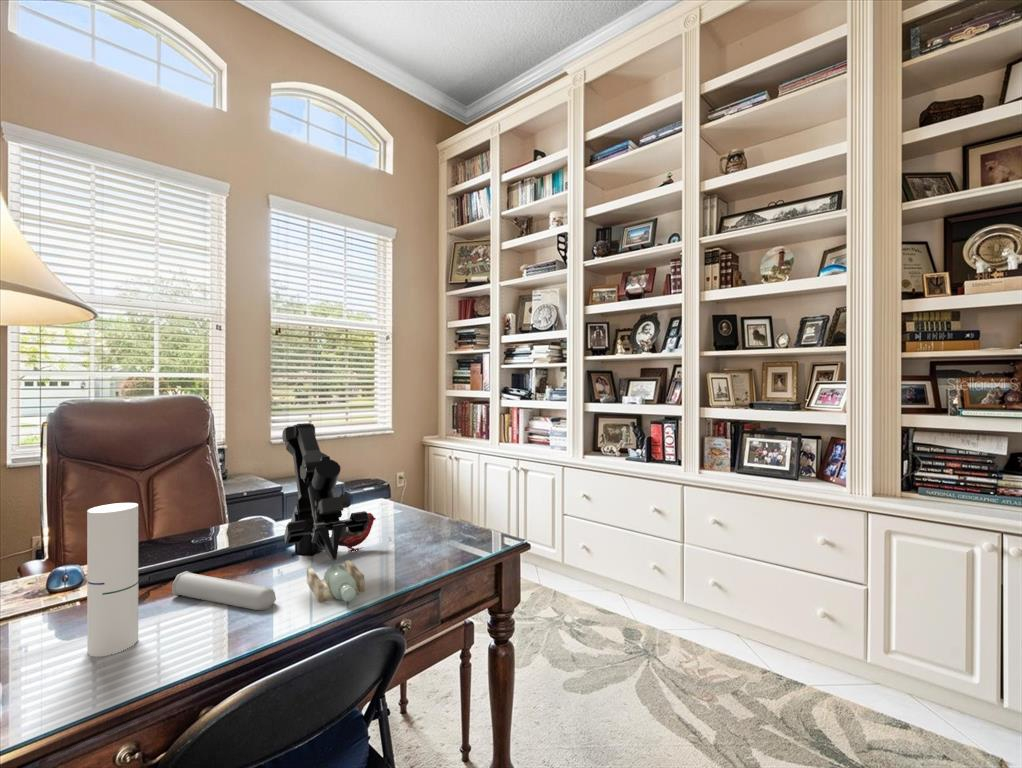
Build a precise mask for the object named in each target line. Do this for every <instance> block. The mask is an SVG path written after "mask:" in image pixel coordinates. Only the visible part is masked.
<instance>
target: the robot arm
mask: <svg viewBox="0 0 1022 768" xmlns="http://www.w3.org/2000/svg"><path fill="white" fill-rule="evenodd" d="M282 442H283V443H285V450H286V451H287V452H288V453H289V454H291V456H292V458H293V465H294V466H293V467H294V474H295V475H294V476H295V481H296V489H297V496H298V500H297V502H296V504H295V507H294V510H293V512H292V516H291V519H290V521H289V522H288V523H287V524H286V527H285V531H284V542H285V545H293V544H294V552H291V554H290V555H291V556H293V557H295V556H305V557H313V556H315V555H317V554H318V553H320V552H322V551H324V552H325V553H326V555H328V557H329V558H330V560H331V561H336V560H337V558H338V557H337V556H338V553H339V552H338V551H339V539H341V538H343V536H344V534H345V531H346V528H348V530H349V532H351V533H352V534H354V533H359V532H363V531H365V530H366V528H367V525H368V523H369V521H370V518H369V514H368V513H369V512H367V511H366V510H365V511H364V510H363V511H356V512H351V513H350V516H349V518H347V519H341V520H340V518H342V515H343V513H342V512H343V511H344V510H345V509H347V508H350V506H351V504H352V503H351V498H350V494H349V493H348V492H347V493H341V494H340V495H339V496H335V493H334V489H335V488H336V485H337V482H338V479H339V475H340V472H341V469H342V468H341V465H340V464H339V463H338V462H337V461H335V460H334V459H331V457H330V456H329V455H327V454H325V453H323V452H321V449H320V446H319V444H318V441H317V437H316V426H315V425H314V423H306V422H304V423H303V422H302V423H296V424H294V425H291V426H286V427H285V428H284V429H283V430H282ZM330 531H331V534H330ZM330 535H331V536H330ZM330 537H331V538H330Z"/></svg>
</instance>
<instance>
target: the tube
mask: <svg viewBox="0 0 1022 768" xmlns="http://www.w3.org/2000/svg"><path fill="white" fill-rule="evenodd" d="M171 594H172V595H174V596H177V597H180V596H179V595H182V596H181V597H185V596H186V597H187V598H190V597H191V599H195V598H196V599H195V600H200V599H201V601H205V600H206V602H210V601H211V603H213V602H215V603H219V604H224V605H228V606H234V607H239V608H244V609H249V610H253V611H254V610H255V611H263V610H264V611H265V610H269V609H270V608H271V607H272V606H273V605H274V604H275V602H276V600H277V597H276V593H275V590H274V589H272V588H271V587H268V586H265V585H258V584H253V583H247V582H243V581H237V580H232V579H231V580H230V579H225V578H220V577H214V576H207V575H203V574H197V573H193V572H191V571H188V570H186V571H183V572H181V573H179V574H177V575H176V576H175V579H174V580H173V582H172V584H171Z"/></svg>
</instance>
